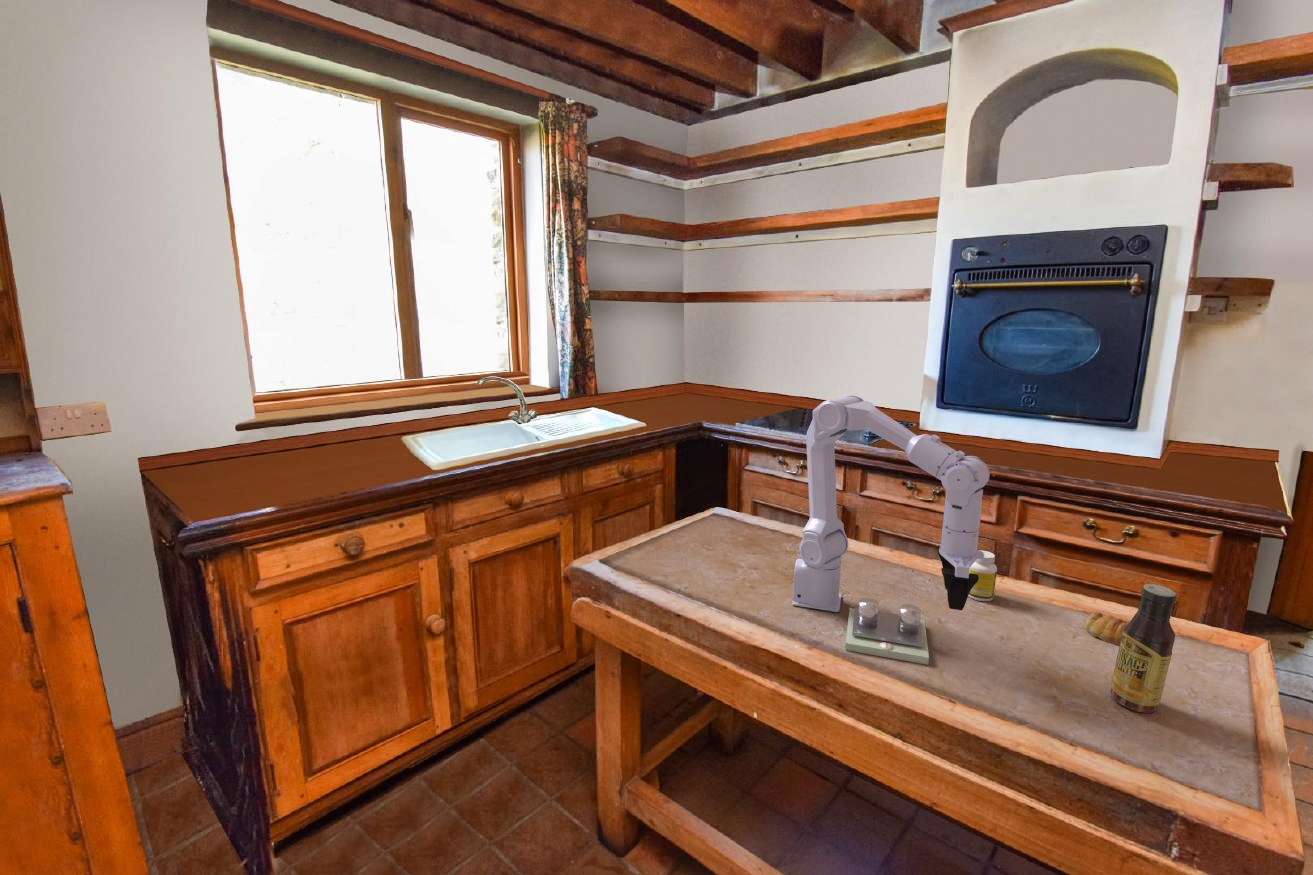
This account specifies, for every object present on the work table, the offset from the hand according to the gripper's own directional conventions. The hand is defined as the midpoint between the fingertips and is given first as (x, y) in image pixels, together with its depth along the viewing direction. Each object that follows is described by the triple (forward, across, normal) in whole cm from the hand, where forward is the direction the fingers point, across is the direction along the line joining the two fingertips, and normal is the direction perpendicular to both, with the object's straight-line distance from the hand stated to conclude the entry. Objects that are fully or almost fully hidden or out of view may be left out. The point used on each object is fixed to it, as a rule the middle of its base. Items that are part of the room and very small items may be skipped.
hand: (953, 598), depth 110 cm
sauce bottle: (+11, -6, -26) cm, 29 cm away
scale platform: (+10, +2, +11) cm, 14 cm away
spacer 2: (+8, +2, +7) cm, 11 cm away
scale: (+10, +1, +11) cm, 15 cm away
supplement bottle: (+11, +26, -8) cm, 29 cm away
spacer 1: (+8, +2, +14) cm, 16 cm away
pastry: (+11, +16, -30) cm, 36 cm away
